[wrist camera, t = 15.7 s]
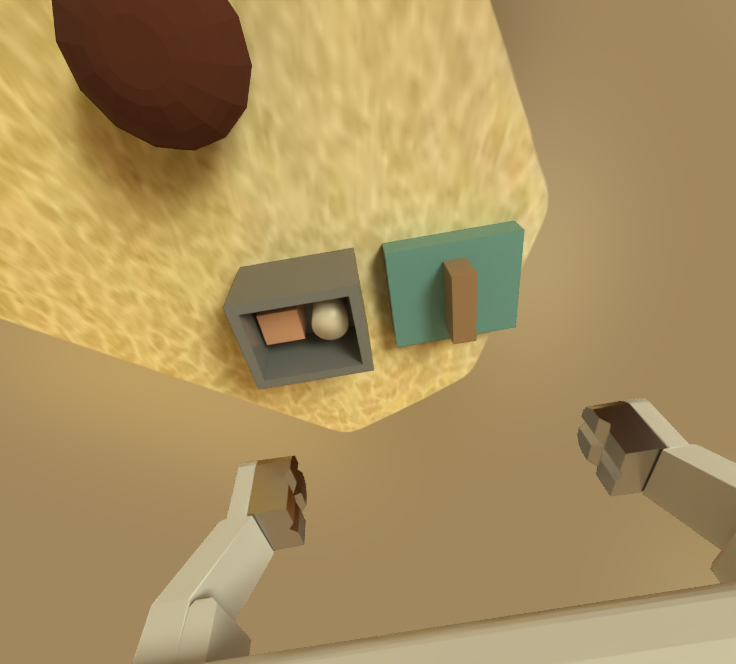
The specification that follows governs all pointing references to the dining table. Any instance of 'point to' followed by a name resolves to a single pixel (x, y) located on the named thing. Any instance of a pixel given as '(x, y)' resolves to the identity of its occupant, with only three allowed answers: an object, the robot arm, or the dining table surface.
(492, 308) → the lid
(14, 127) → the dining table surface
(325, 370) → the storage box
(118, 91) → the muffin
